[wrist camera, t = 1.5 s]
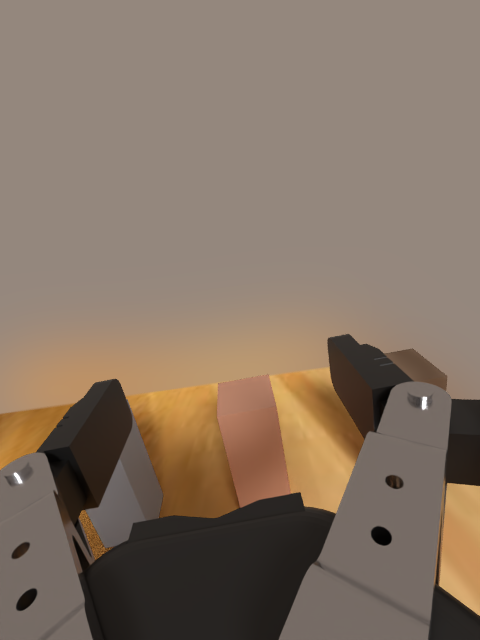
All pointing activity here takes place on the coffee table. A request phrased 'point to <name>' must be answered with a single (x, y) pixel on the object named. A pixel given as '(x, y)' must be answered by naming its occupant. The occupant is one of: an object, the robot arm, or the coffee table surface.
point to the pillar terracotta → (252, 439)
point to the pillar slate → (128, 493)
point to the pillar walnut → (418, 368)
